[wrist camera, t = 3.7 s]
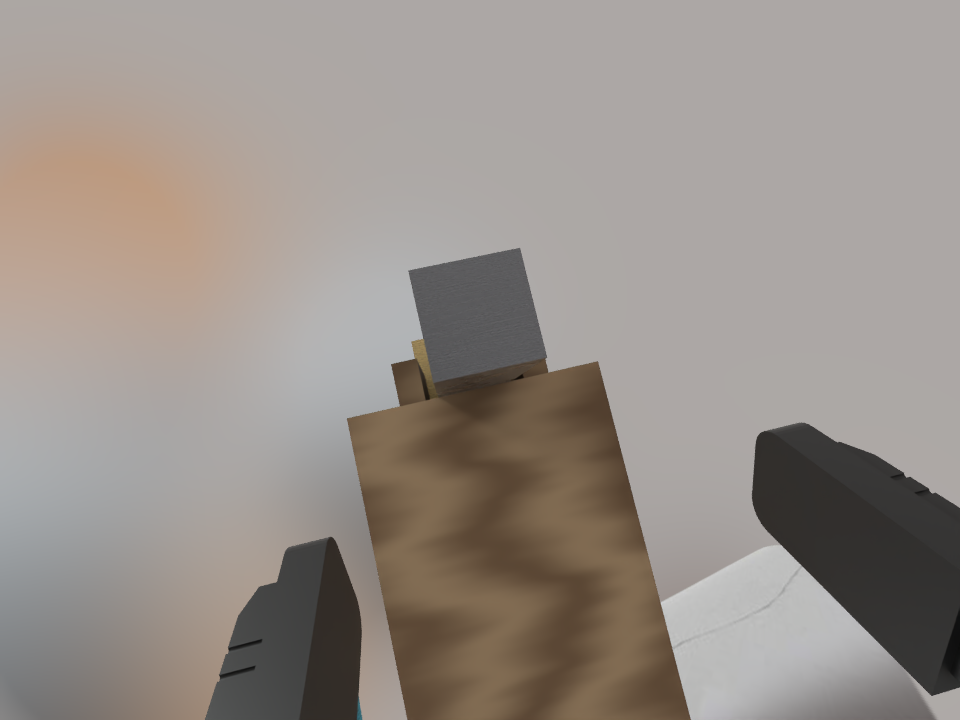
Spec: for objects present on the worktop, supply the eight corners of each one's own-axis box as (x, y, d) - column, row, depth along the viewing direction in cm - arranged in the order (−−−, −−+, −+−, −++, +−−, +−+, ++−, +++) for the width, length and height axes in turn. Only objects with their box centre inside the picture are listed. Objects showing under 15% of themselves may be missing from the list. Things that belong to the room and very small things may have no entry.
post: (498, 1171, 20) (332, 344, 23) (477, 862, 34) (375, 373, 37) (780, 1066, 21) (579, 291, 24) (647, 809, 35) (531, 339, 38)
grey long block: (399, 390, 15) (369, 245, 15) (427, 409, 36) (414, 348, 36) (578, 350, 15) (543, 211, 16) (503, 392, 36) (488, 332, 37)
